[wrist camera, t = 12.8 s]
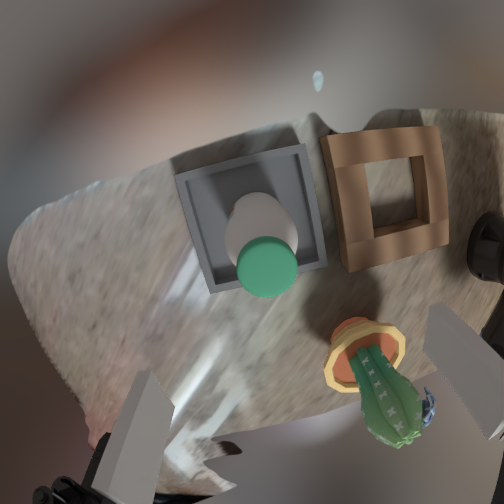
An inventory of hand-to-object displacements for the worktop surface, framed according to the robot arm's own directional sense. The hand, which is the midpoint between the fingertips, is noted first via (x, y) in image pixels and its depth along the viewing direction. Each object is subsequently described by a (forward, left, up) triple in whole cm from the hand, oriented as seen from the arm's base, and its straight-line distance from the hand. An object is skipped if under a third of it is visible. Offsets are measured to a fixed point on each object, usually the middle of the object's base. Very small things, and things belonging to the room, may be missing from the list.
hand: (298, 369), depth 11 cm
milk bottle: (+1, -1, -30) cm, 30 cm away
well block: (-21, 0, -31) cm, 37 cm away
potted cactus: (-12, +25, -31) cm, 42 cm away
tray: (+1, -1, -31) cm, 31 cm away
